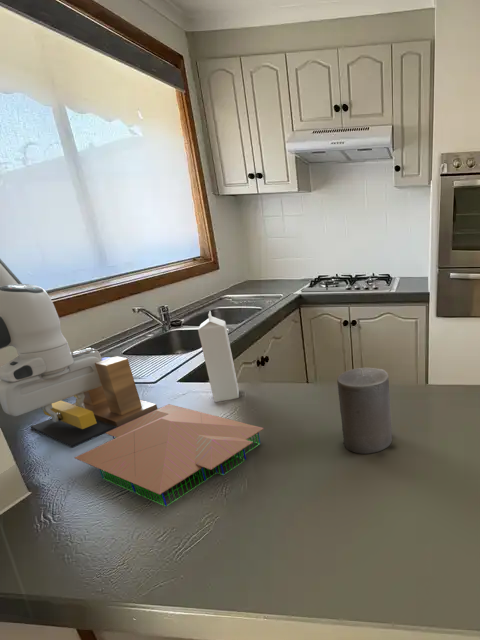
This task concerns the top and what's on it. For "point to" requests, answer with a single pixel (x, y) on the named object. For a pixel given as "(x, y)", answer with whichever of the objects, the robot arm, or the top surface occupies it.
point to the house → (169, 449)
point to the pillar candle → (365, 409)
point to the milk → (218, 359)
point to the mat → (71, 431)
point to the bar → (73, 414)
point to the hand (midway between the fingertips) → (68, 416)
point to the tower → (116, 394)
